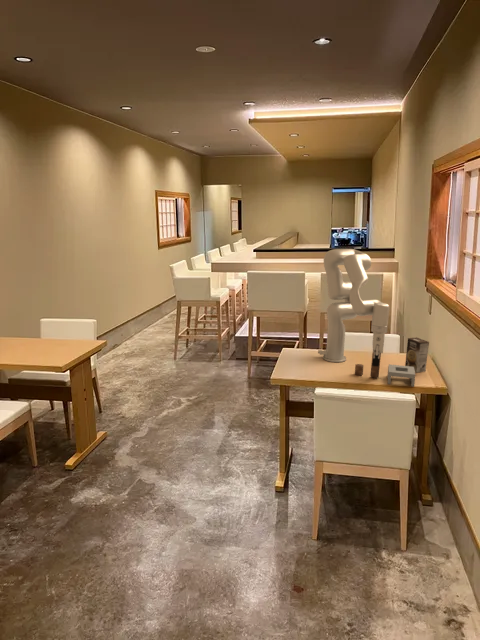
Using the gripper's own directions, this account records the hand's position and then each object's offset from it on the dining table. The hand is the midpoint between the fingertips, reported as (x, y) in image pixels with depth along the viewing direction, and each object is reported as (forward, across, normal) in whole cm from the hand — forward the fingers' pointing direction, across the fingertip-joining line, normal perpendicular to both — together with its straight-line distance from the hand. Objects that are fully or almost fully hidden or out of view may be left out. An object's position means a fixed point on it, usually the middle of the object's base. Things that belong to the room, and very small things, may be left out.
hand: (375, 364), depth 247 cm
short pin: (+7, +3, +8) cm, 11 cm away
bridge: (+7, 0, -12) cm, 14 cm away
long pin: (+6, 0, 0) cm, 6 cm away
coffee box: (+7, +21, -20) cm, 30 cm away
